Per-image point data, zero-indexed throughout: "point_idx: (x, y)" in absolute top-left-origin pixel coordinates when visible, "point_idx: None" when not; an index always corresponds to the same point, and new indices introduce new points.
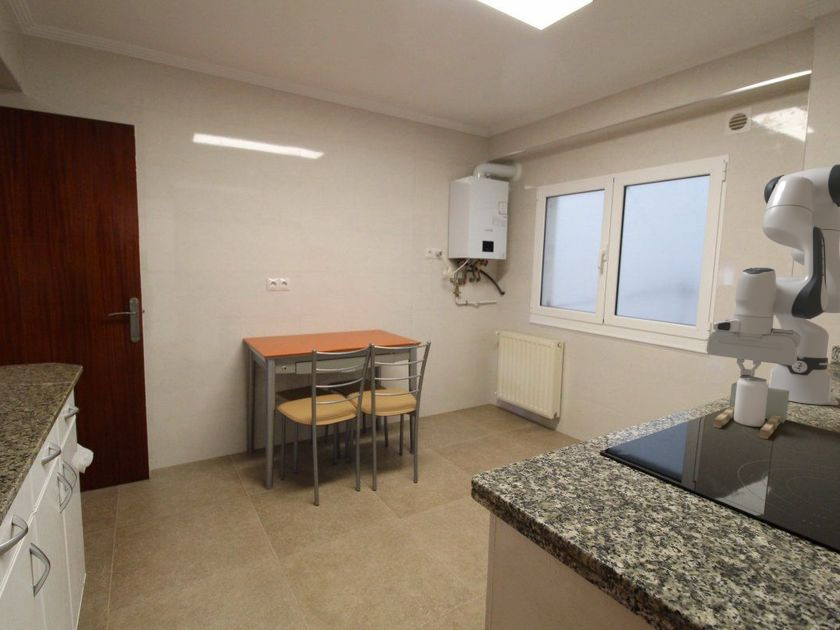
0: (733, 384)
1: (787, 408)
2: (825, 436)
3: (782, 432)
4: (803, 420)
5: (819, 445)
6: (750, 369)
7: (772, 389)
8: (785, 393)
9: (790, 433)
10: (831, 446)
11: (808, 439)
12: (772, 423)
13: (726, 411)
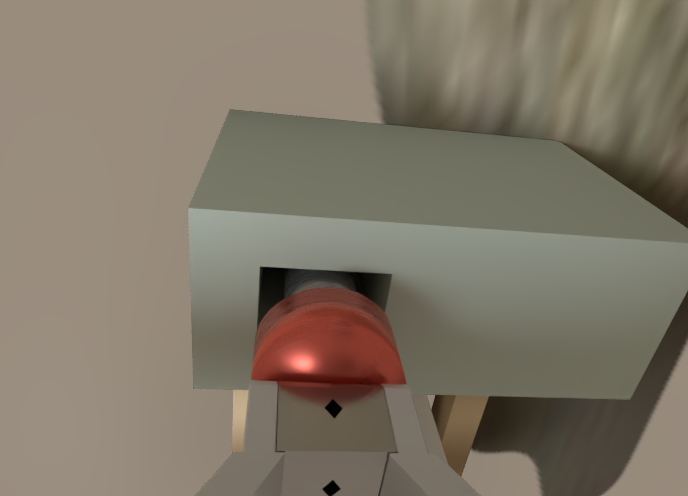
0: (208, 382)
1: (601, 171)
2: (663, 341)
3: (488, 414)
4: (671, 64)
5: (589, 470)
6: (365, 453)
7: (549, 324)
8: (623, 398)
9: (519, 404)
10: (630, 453)
11: (571, 431)
12: (457, 466)
13: (243, 425)
